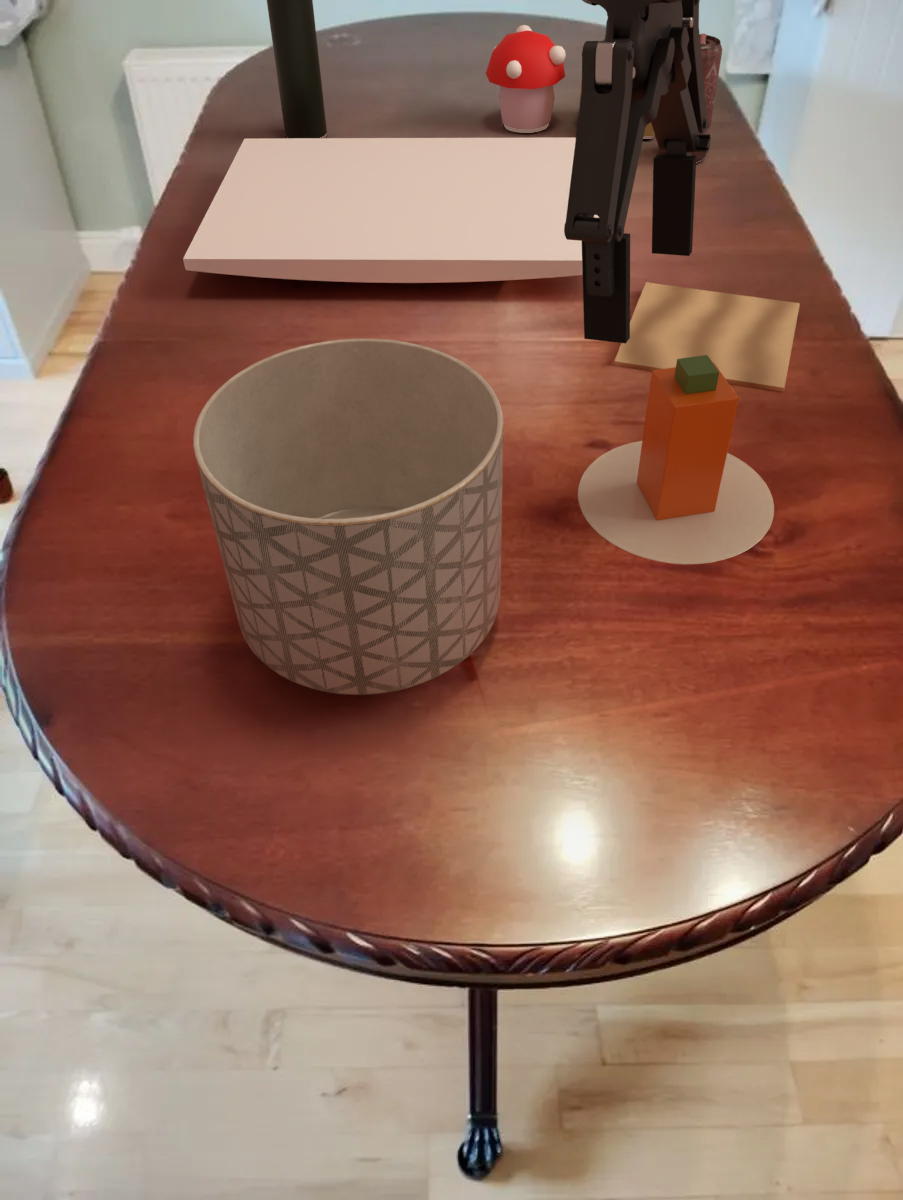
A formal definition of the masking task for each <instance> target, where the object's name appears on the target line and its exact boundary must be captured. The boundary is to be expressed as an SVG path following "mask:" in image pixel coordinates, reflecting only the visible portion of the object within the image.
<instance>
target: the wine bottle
mask: <svg viewBox="0 0 903 1200" xmlns="http://www.w3.org/2000/svg"><path fill="white" fill-rule="evenodd" d="M266 4H267V5H266V6H267V13H268V19H269V28H270V34H271V35H270V36H271V42H272V48H273V56H274V57H273V58H274V63H275V71H276V78H277V84H278V91H279V99H280V107H281V113H282V122H283V127H284V129H283V130H284V134H285V135H286V136H285V138H286V137H288V138H320V137H322V136H324V135H325V134H326V133H327V134H328V130H327V120H326V111H325V110H326V109H325V102H324V93H323V84H322V73H321V66H320V55H319V48H318V47H319V45H318V39H317V37H318V36H317V27H316V20H315V19H316V18H315V10H314V1H313V0H266Z"/></svg>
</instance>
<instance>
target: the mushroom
mask: <svg viewBox="0 0 903 1200" xmlns="http://www.w3.org/2000/svg"><path fill="white" fill-rule="evenodd" d="M566 57H567V55H566V50H565V49H564V47H563V46H561V45H556V44H555V43H554V42H553V40H552V39H551V37H549V36H548V35H546V34H543V33H539V32H536V31H533V30H532V28H531V27H530V26H529V25H527V24H522V25H519V26H518V27H517V28H516V30H515V32H512V33H508V34H506V35H505V36H504V37H503V39H501V41H500V42H499V43H498V44H497V45H496V46H494V48H493V50H492V52H491V55H490V58H489V62H488V65H487V68H486V71H485V76H486V78H487V80H488V82H489V83H490V84H493V85H494V84H495V85H497V86H500V88H499V93H498V102H499V109H500V115H501V123H502V124H503V123H504V124H505V125H506V126H509V127H512V128H516V129H535V128H540V127H543V126H545V125H547V124H548V123H549V122H550V123H551V121H552V116H553V110H554V105H555V101H556V96H555V89H554V86H555V85H558V83H560V82H561V81H562V80H563V79H565V77H566V71H565V66H564V61H565V59H566Z"/></svg>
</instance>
